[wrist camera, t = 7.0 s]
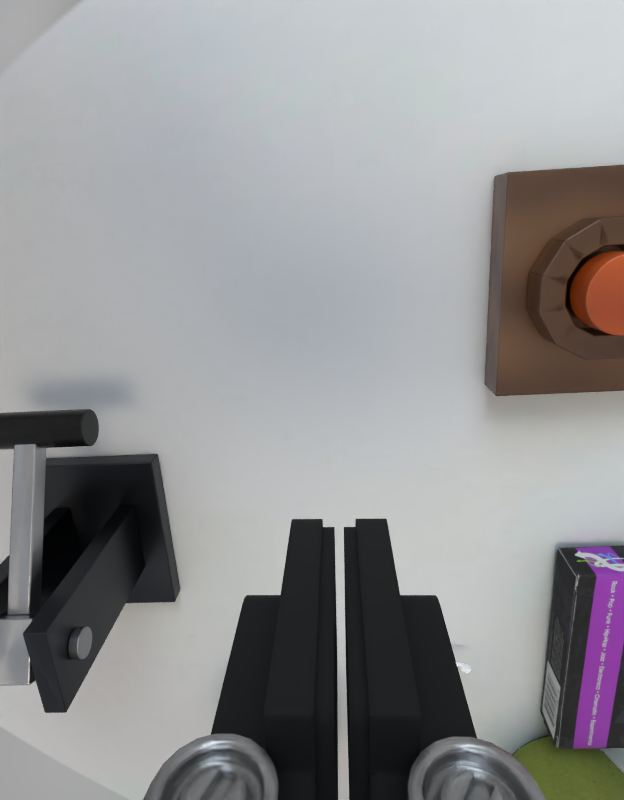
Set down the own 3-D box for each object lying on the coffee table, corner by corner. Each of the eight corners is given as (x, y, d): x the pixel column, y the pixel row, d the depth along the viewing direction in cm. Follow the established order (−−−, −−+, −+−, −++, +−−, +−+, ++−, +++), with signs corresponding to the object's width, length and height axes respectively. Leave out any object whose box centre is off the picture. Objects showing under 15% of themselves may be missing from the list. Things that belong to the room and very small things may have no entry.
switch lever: (-11, 416, 28) (-44, 411, 25) (101, 412, 27) (79, 406, 25) (-24, 667, 26) (-61, 687, 24) (97, 665, 26) (71, 684, 23)
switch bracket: (31, 458, 33) (-125, 580, 22) (158, 453, 32) (66, 575, 21) (64, 593, 36) (-57, 760, 25) (180, 590, 36) (110, 759, 24)
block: (494, 175, 27) (520, 168, 23) (678, 164, 26) (736, 154, 23) (484, 384, 30) (506, 407, 26) (647, 377, 30) (693, 399, 26)
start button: (572, 252, 24) (590, 255, 23) (653, 248, 24) (677, 250, 23) (565, 330, 26) (581, 337, 24) (643, 326, 25) (664, 333, 24)
